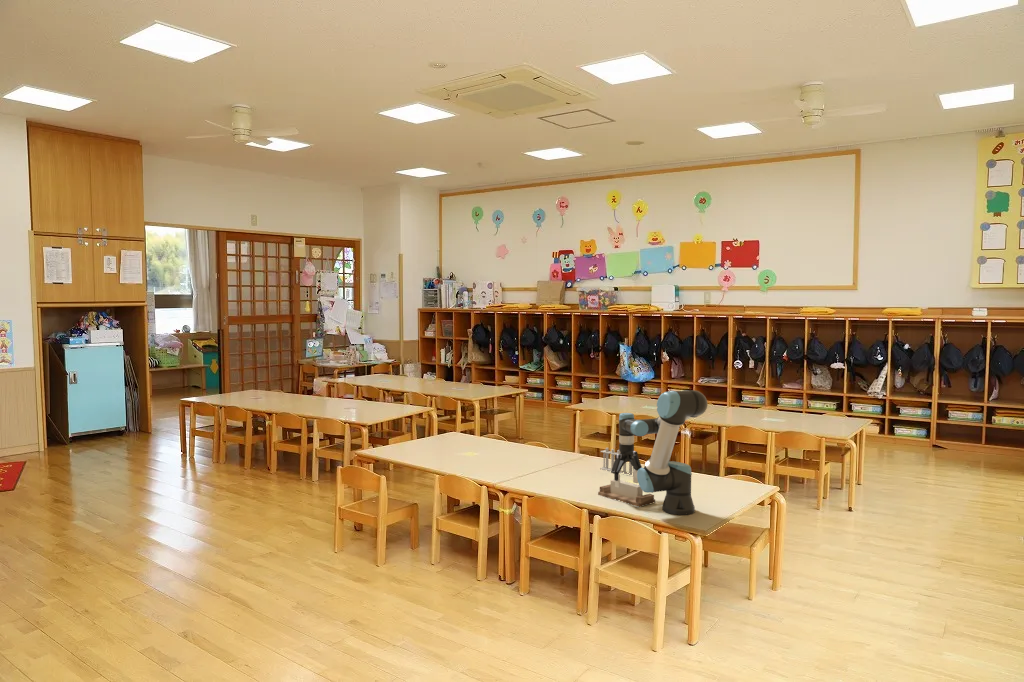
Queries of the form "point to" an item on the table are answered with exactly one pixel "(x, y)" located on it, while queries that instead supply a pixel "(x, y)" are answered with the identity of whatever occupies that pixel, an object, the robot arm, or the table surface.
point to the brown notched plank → (638, 502)
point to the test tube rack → (613, 461)
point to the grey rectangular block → (626, 489)
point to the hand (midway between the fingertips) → (626, 484)
